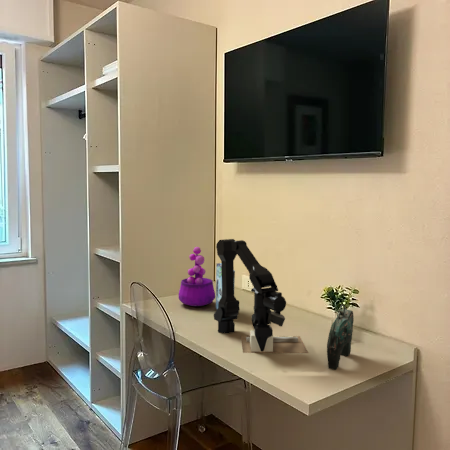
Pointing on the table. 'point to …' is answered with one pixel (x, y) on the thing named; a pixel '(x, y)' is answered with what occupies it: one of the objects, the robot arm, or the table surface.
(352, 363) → the table surface
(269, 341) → the notched block
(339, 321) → the dark green upright piece
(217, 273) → the gum box
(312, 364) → the table surface
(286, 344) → the cleat board
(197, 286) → the decorative plant
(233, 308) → the robot arm
